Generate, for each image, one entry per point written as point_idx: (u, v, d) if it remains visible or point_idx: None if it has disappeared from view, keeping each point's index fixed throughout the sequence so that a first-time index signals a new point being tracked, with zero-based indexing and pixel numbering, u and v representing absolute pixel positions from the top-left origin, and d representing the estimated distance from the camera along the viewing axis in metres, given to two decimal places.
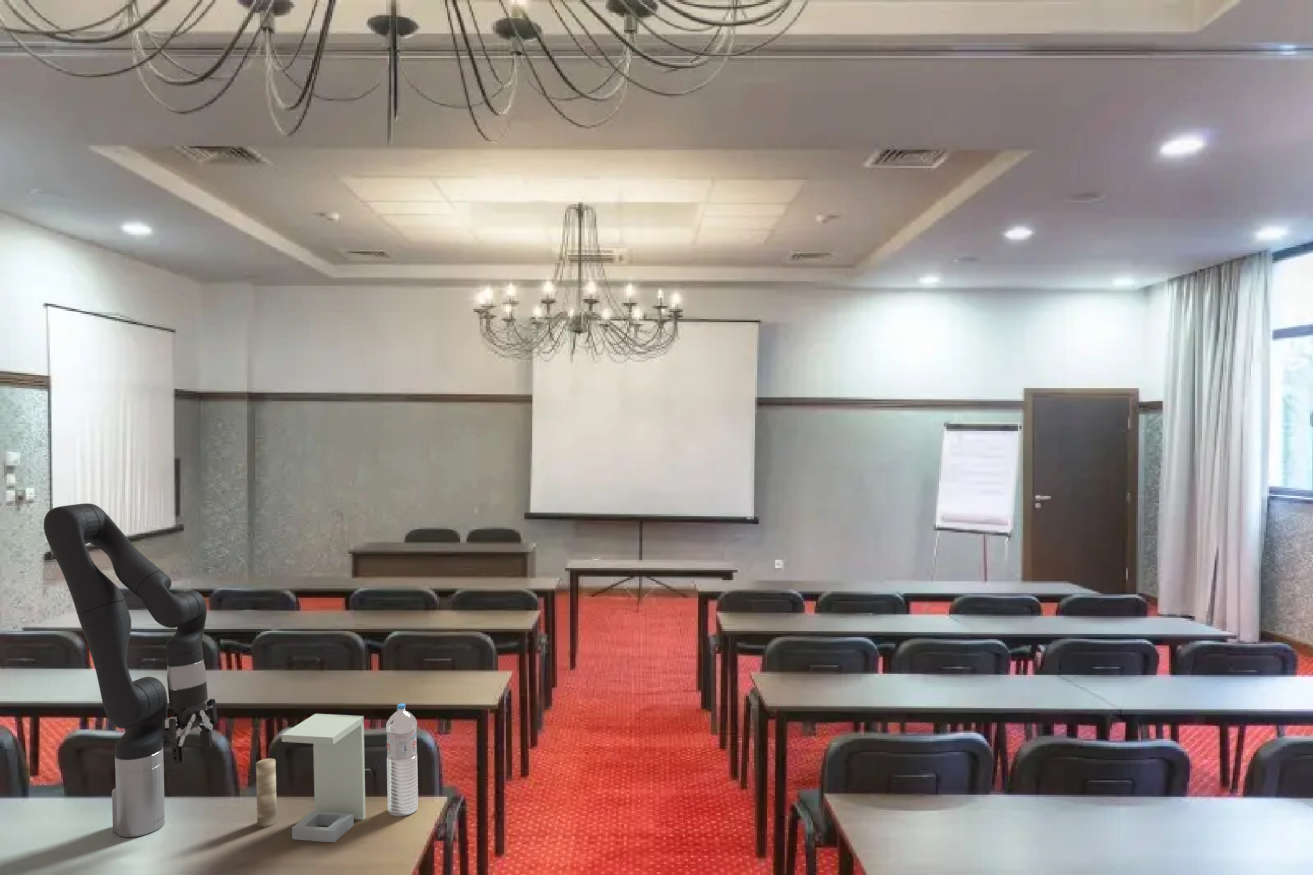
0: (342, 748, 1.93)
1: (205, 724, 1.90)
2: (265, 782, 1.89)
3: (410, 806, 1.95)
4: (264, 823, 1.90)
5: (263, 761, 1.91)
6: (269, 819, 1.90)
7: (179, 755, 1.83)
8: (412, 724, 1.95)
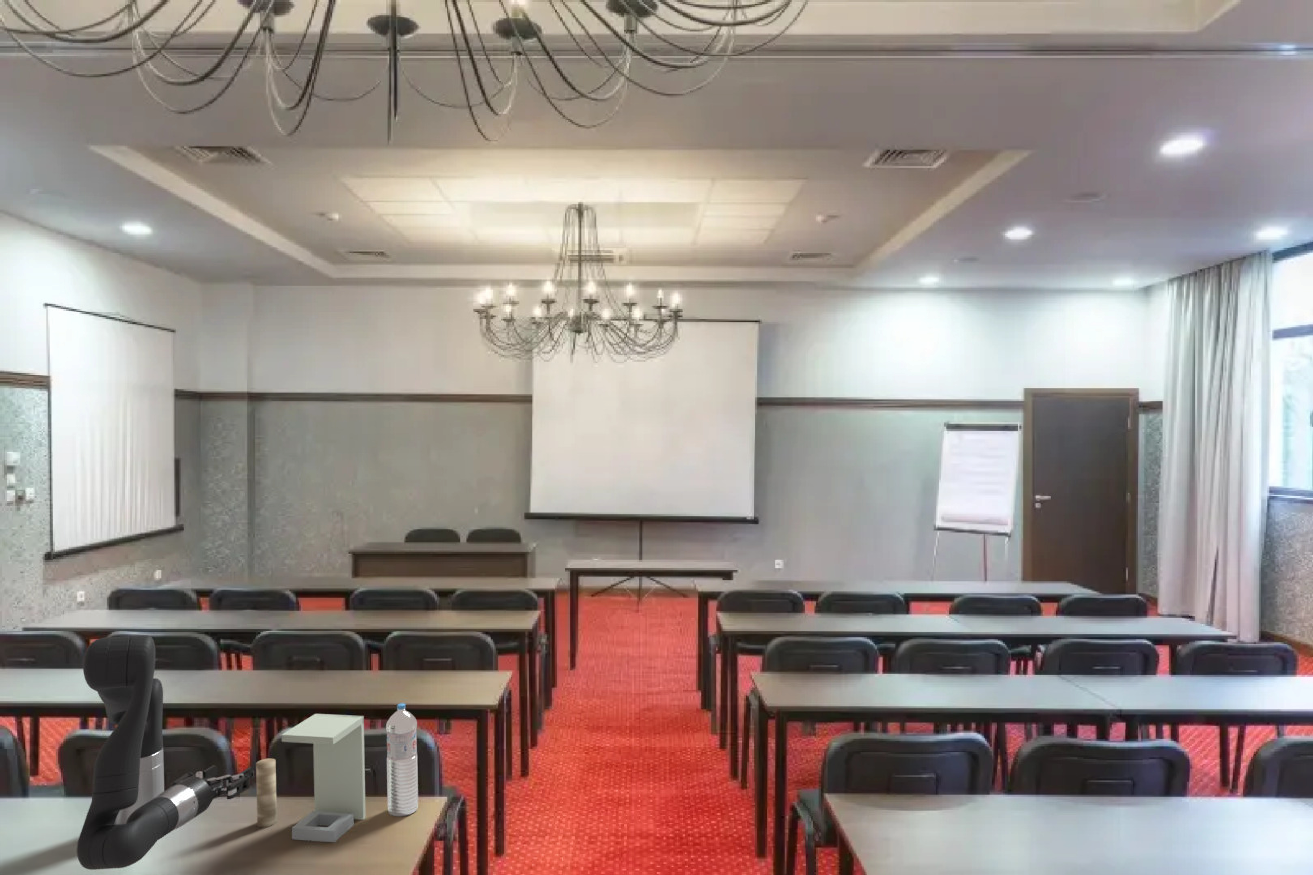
0: (342, 748, 1.93)
1: None
2: (265, 782, 1.89)
3: (410, 806, 1.95)
4: (264, 823, 1.90)
5: (263, 761, 1.91)
6: (269, 819, 1.90)
7: None
8: (412, 724, 1.95)
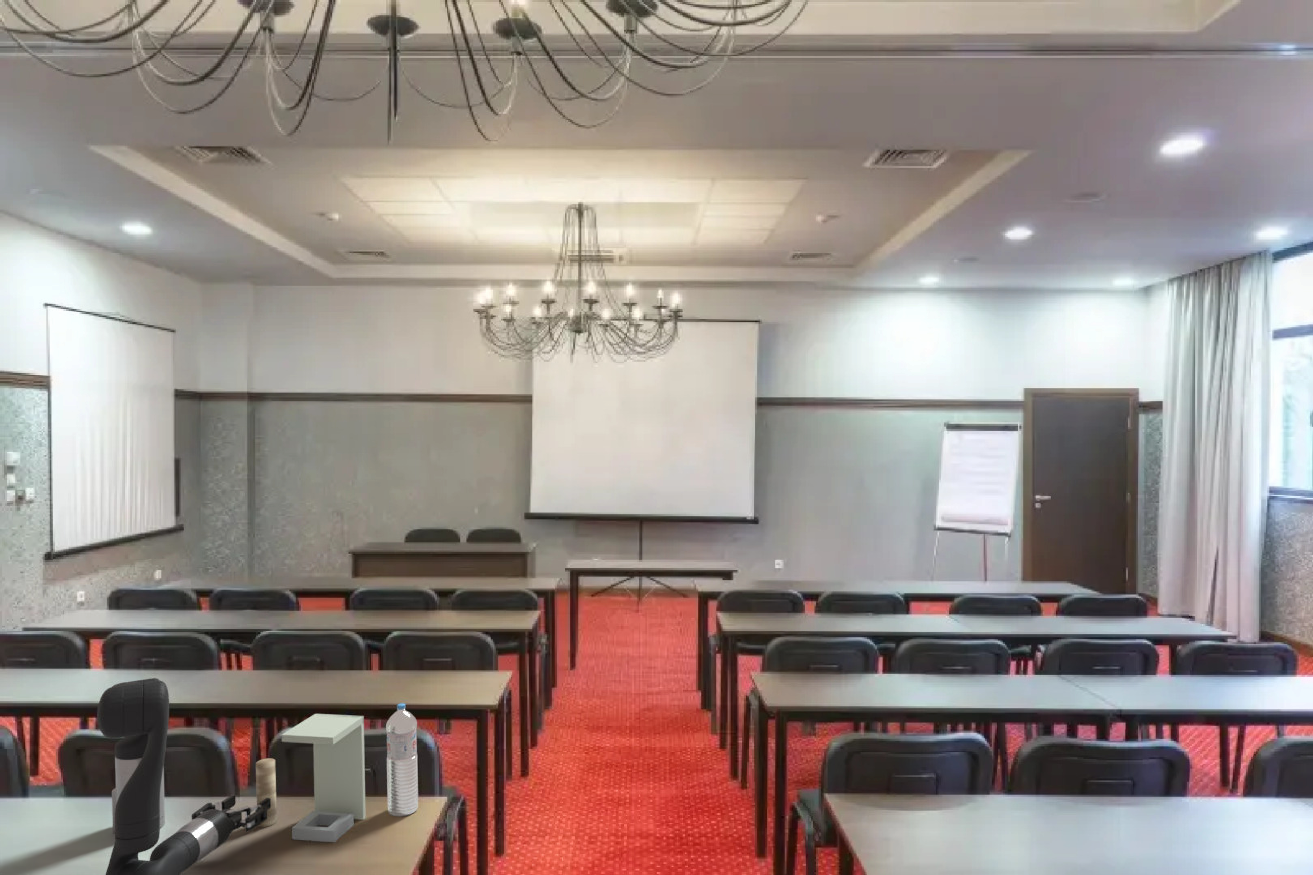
0: (342, 748, 1.93)
1: None
2: (265, 782, 1.89)
3: (410, 806, 1.95)
4: (264, 823, 1.90)
5: (262, 761, 1.91)
6: (269, 819, 1.90)
7: None
8: (412, 724, 1.95)
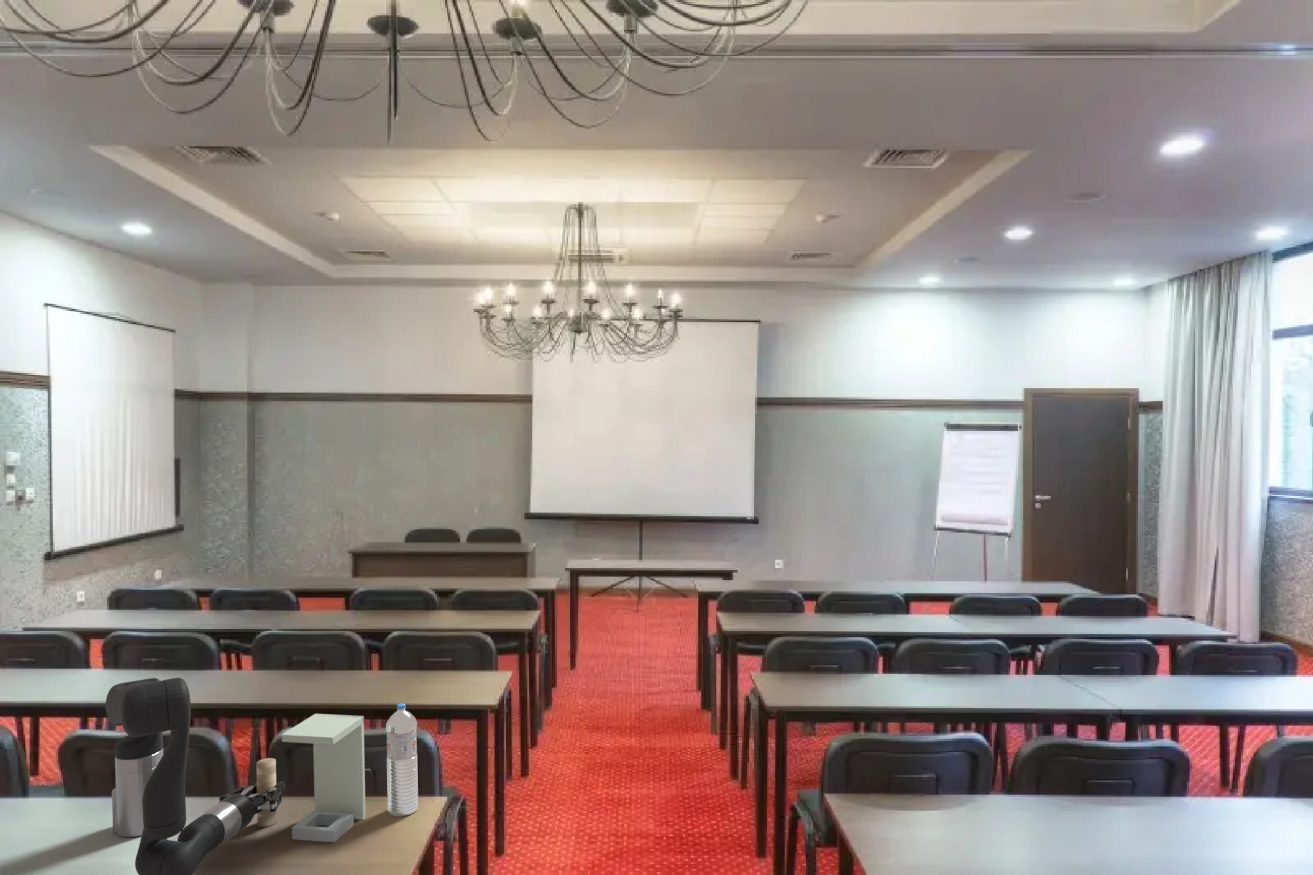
0: (342, 748, 1.93)
1: None
2: (266, 782, 1.90)
3: (410, 806, 1.95)
4: (264, 823, 1.90)
5: (263, 761, 1.91)
6: (269, 819, 1.90)
7: None
8: (412, 724, 1.95)
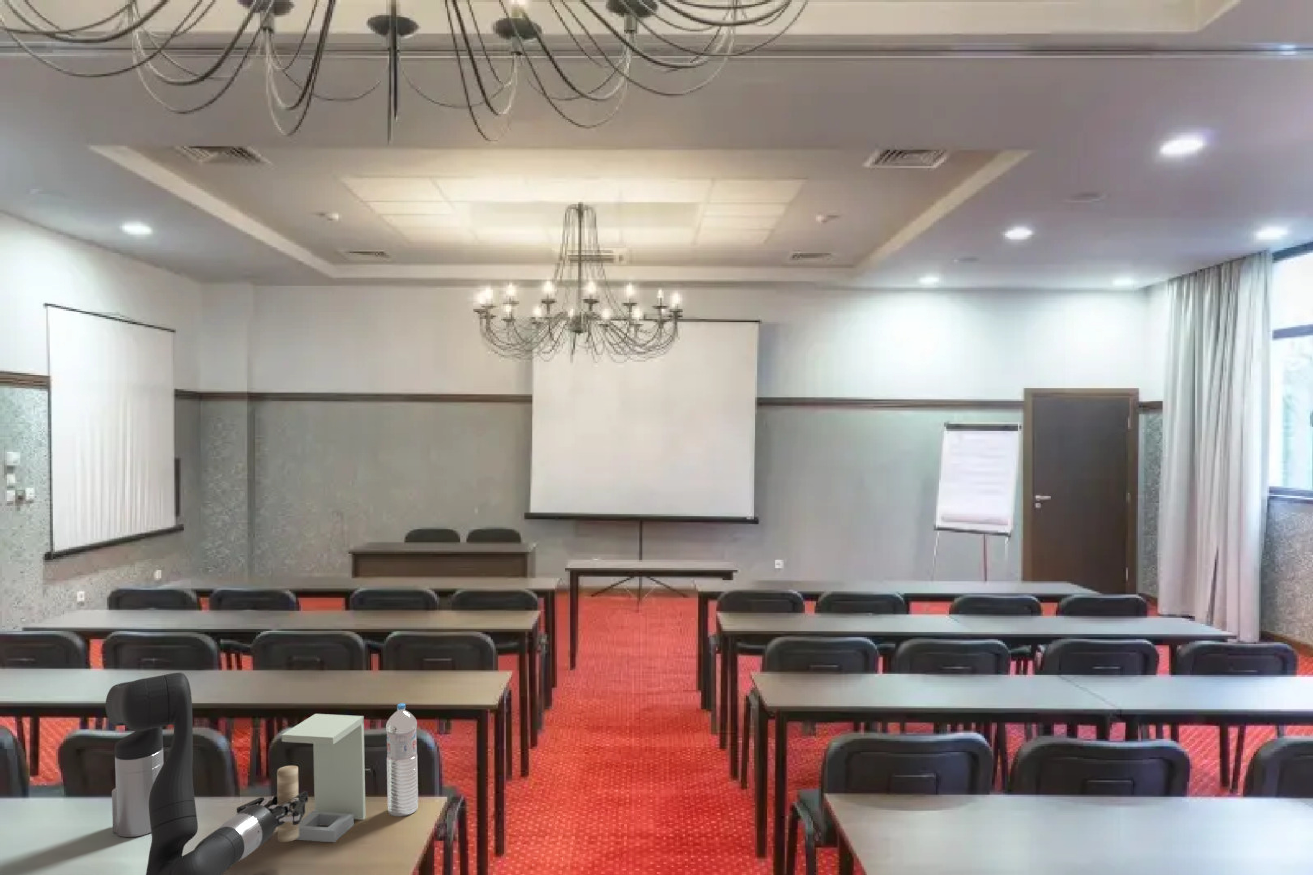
0: (342, 748, 1.93)
1: None
2: (287, 791, 1.72)
3: (410, 806, 1.95)
4: (285, 837, 1.72)
5: (284, 769, 1.74)
6: (291, 833, 1.72)
7: None
8: (412, 724, 1.95)
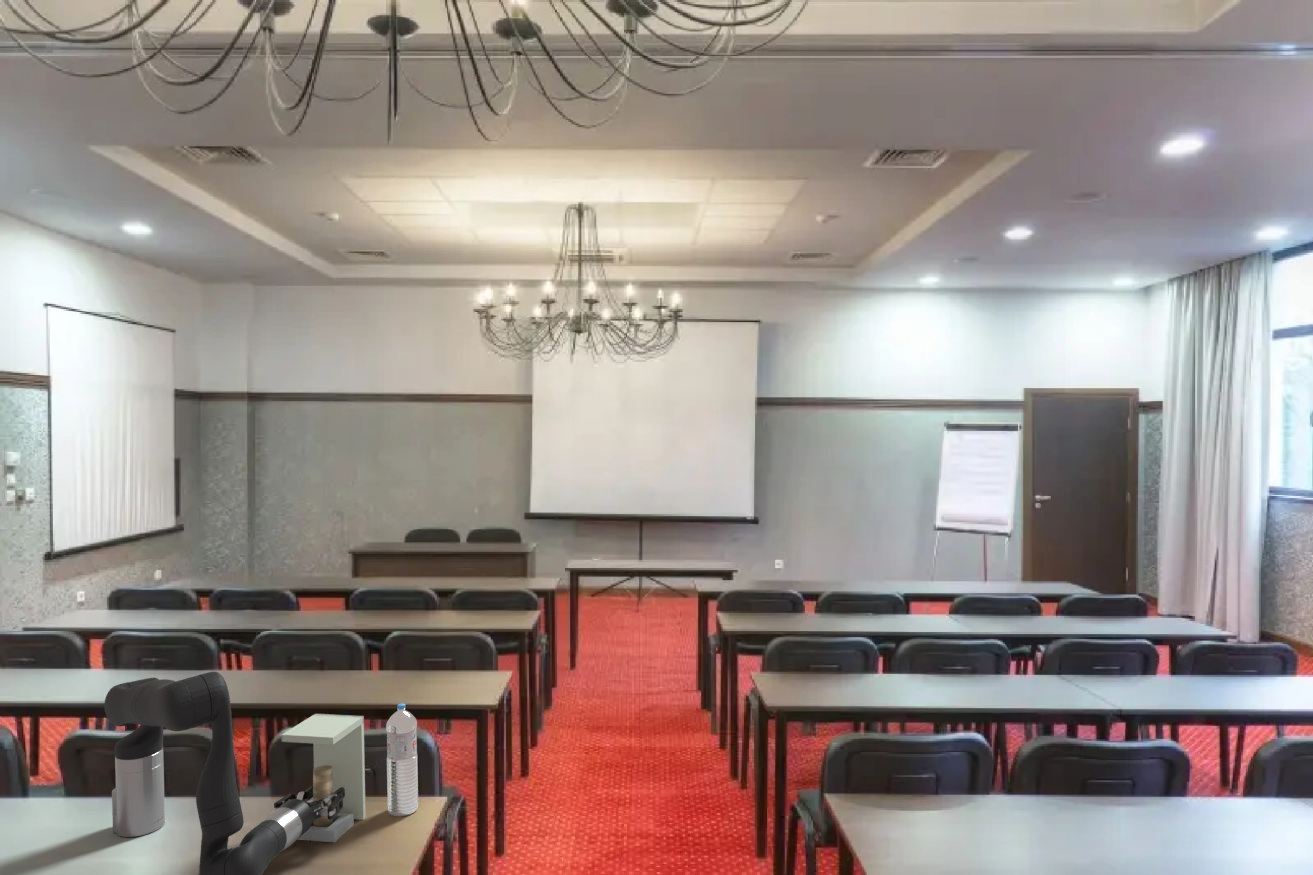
0: (342, 748, 1.93)
1: None
2: (323, 789, 1.85)
3: (410, 806, 1.95)
4: None
5: (319, 768, 1.87)
6: None
7: None
8: (412, 724, 1.95)
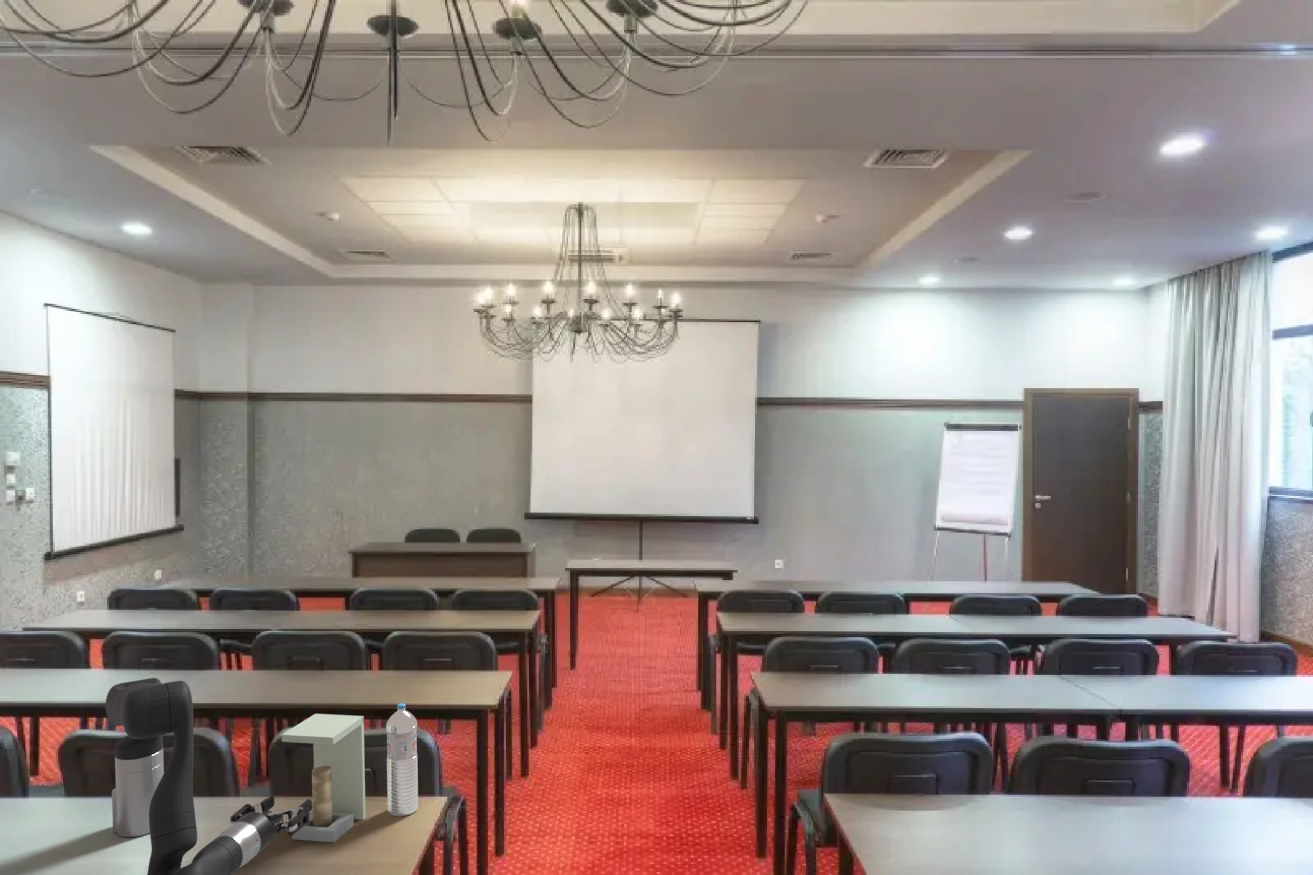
0: (342, 748, 1.93)
1: None
2: (322, 790, 1.85)
3: (410, 806, 1.95)
4: None
5: (318, 769, 1.87)
6: None
7: None
8: (412, 724, 1.95)
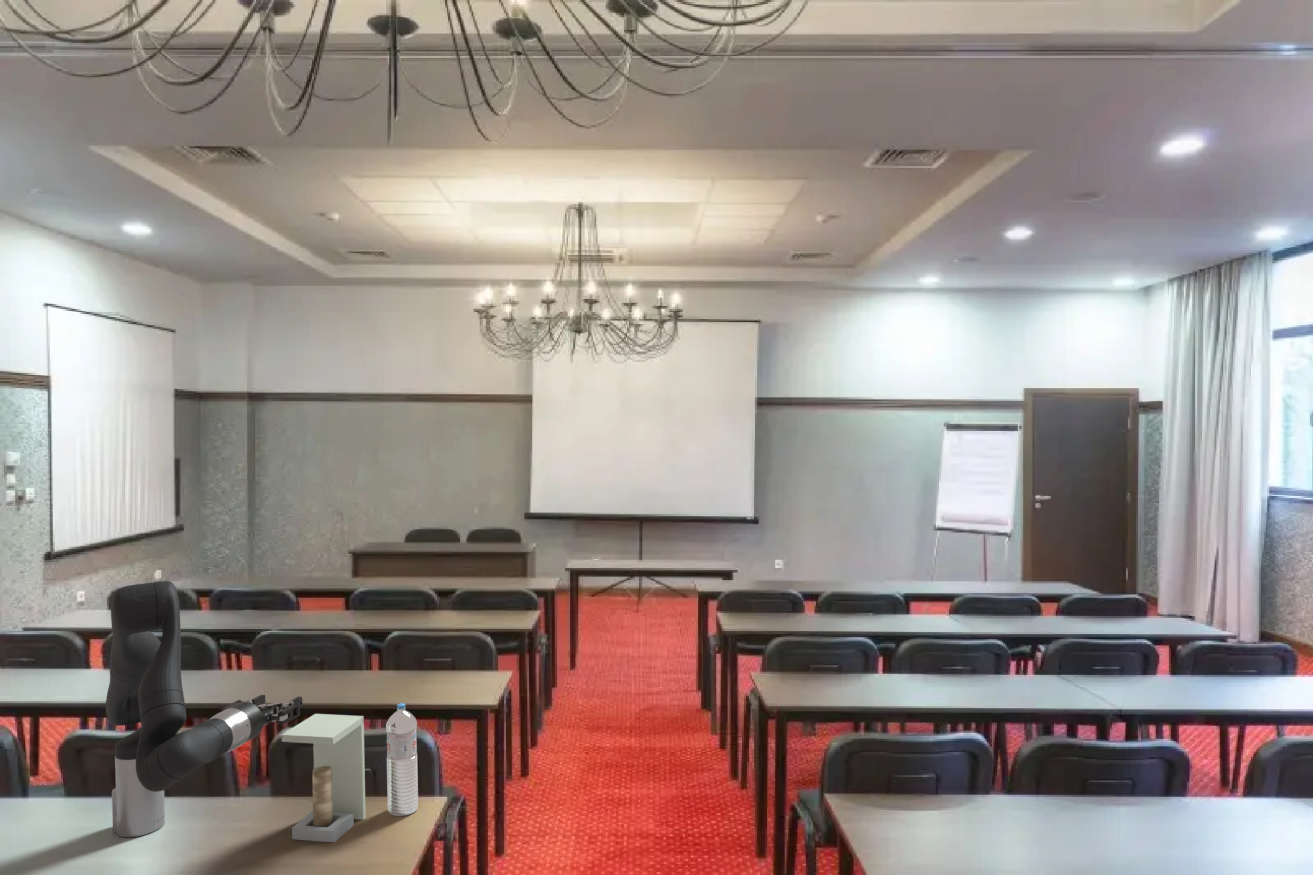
0: (342, 748, 1.93)
1: None
2: (322, 790, 1.85)
3: (410, 806, 1.95)
4: None
5: (319, 769, 1.87)
6: None
7: None
8: (412, 724, 1.95)
